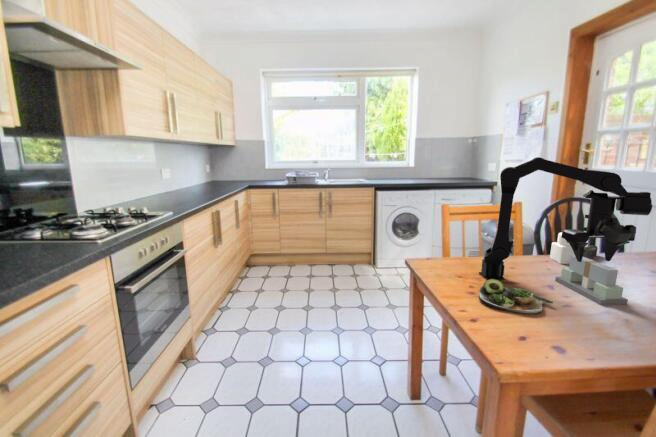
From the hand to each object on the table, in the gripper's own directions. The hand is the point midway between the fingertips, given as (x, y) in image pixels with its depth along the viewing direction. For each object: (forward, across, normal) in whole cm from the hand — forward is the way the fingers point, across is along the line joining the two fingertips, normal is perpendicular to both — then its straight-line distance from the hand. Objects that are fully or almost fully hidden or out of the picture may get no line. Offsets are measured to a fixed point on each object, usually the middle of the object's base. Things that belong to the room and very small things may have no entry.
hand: (593, 261), depth 98 cm
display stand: (+10, 0, 0) cm, 10 cm away
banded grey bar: (+5, 0, 0) cm, 5 cm away
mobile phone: (+11, +26, +31) cm, 42 cm away
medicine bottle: (+11, +14, +28) cm, 33 cm away
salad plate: (+11, -29, -4) cm, 31 cm away
